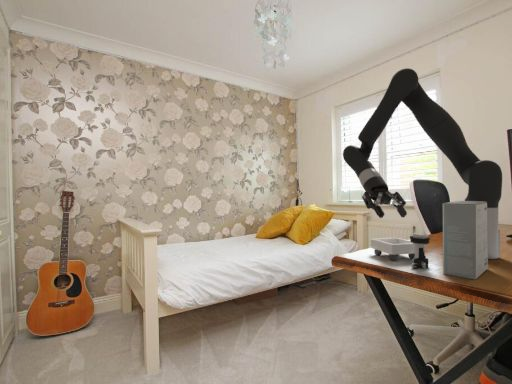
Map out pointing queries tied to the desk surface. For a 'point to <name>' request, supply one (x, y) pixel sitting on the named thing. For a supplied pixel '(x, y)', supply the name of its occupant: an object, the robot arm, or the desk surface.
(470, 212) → the hard drive box
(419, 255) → the push button
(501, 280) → the desk surface
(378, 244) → the parts trolley
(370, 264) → the desk surface
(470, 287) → the desk surface
